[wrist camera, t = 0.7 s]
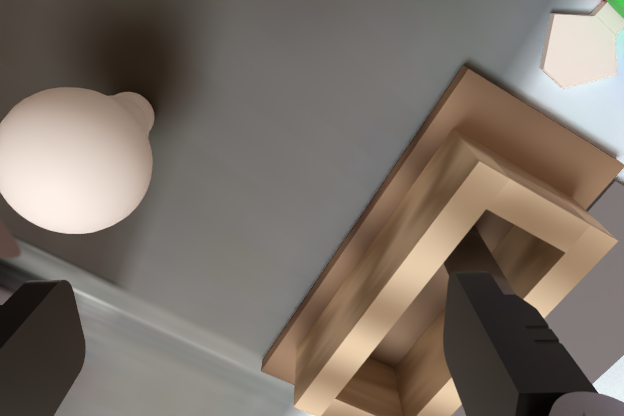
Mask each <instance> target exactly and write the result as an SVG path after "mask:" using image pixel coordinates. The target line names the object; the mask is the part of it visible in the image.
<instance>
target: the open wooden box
mask: <svg viewBox="0 0 624 416" xmlns="http://www.w3.org/2000/svg"><path fill="white" fill-rule="evenodd" d="M486 209H487V210H489V211H491V212H493V213H495V214H496V215H498V216H500V217H502V218H504V219H505V220H507V221H509V222H511V223H513V224H515V225H514V226H513V227H512V229H511V230H510V231H509V232H508V233H507V235H506V236H505V237H504V238H503V239H502V241H501V242H500V243H499V244H498V245H497V246H496V248H495V249H494V250H493V251H492V252H491V254H492V255H493V257H494V259H495V260H496V262H497V264H498V266H499V267H500V269H501V271H502V272H503V274H504V276H505V277H506V279H507V281H508V282H509V284H510V286H511V287H512V289H513V291H514V292H515V294H516V295H517V296H519V297H520V298H522V299H523V300H525V301H526V302H528V303H529V304H531V305H532V306H533V307H535V308H536V309H537V310H538V311H539V313H540V314H541V316H542V317H543V318H545V317H546V316H547V315H548V314H549V313H550V312H551V311H552V310H553V309H554V308H555V307H556V306H557V305H558V304H559V302H560V301H561V300H562V299H563V298H564V297H565V296H566V295H567V294H568V293H569V292H570V291H571V290H572V289H573V288H574V287H575V286H576V285H577V284H578V283H579V282H580V281H581V280H582V278H583V277H584V276H585V275H586V274H587V273H588V272H589V271H590V270H591V269H592V268H593V267H594V266H595V265H596V264H597V263H598V262H599V261H600V260H601V259H602V258H603V257H604V256H605V254H606V253H607V252H608V251H609V250H610V249H611V248H612V247H613V246H614V245H615V244H616V243H617V242H618V240H617V239H616V238H615V237H614V236H613V235H612V234H611V233H609V232H608V231H607V230H606V229H605V228H604V227H603V226H602V225H601V224H600V223H599V222H598V221H597V220H596V219H595V218H593V217H592V216H591V215H590V214H589V213H588V212H587V211H586V210H585V209H584V208H583V207H582V206H581V205H580V204H579V203H577V202H576V201H575V200H574V199H573V198H572V197H570V196H568V195H567V194H565V193H563V192H562V191H560V190H558V189H556V188H555V187H553V186H551V185H549V184H548V183H546V182H544V181H543V180H541V179H539V178H537V177H536V176H534V175H532V174H531V173H529V172H527V171H525V170H524V169H522V168H520V167H519V166H517V165H515V164H513V163H512V162H510V161H508V160H507V159H505V158H503V157H501V156H500V155H498V154H496V153H495V152H493V151H491V150H489V149H488V148H486V147H484V146H482V145H481V144H479V143H477V142H476V141H474V140H472V139H470V138H469V137H467V136H465V135H464V134H462V133H460V132H458V131H457V130H455V129H452V130H451V132H450V133H449V135H448V136H447V137H446V139H445V140H444V142H443V143H442V144H441V146H440V147H439V149H438V150H437V151H436V153H435V154H434V156H433V157H432V159H431V160H430V161H429V163H428V164H427V166H426V167H425V168H424V170H423V171H422V173H421V174H420V175H419V177H418V178H417V180H416V181H415V182H414V184H413V185H412V187H411V188H410V190H409V191H408V192H407V194H406V195H405V197H404V198H403V199H402V201H401V202H400V204H399V205H398V206H397V208H396V209H395V211H394V212H393V214H392V215H391V216H390V218H389V219H388V221H387V222H386V223H385V225H384V226H383V228H382V229H381V230H380V232H379V233H378V235H377V236H376V237H375V239H374V240H373V242H372V243H371V245H370V246H369V247H368V249H367V250H366V252H365V253H364V254H363V256H362V257H361V259H360V260H359V261H358V263H357V264H356V266H355V267H354V269H353V270H352V271H351V273H350V274H349V276H348V277H347V278H346V280H345V281H344V283H343V284H342V285H341V287H340V288H339V290H338V291H337V292H336V294H335V295H334V297H333V298H332V300H331V301H330V302H329V304H328V305H327V307H326V308H325V309H324V311H323V312H322V314H321V315H320V316H319V318H318V319H317V321H316V322H315V324H314V325H313V326H312V328H311V329H310V331H309V332H308V333H307V335H306V336H305V338H304V339H303V340H302V342H301V343H300V345H299V346H298V347H297V349H296V368H295V389H294V407H295V408H297V409H300V410H302V411H305V412H307V413H310V414H312V415H315V416H451V415H452V414H453V413H454V412H455V411H456V410H457V409H458V408H459V407H460V406H461V405H462V403H461V401H460V398H459V395H458V393H457V390H456V387H455V385H454V382H453V379H452V377H451V374H450V371H449V369H448V366H447V363H446V360H445V355H444V347H443V330H444V319H445V308H446V307H445V308H444V310H443V311H442V312H441V313H440V314H439V316H438V317H437V318H436V319H435V320H434V322H433V323H432V324H431V325H430V326H429V327H428V329H427V330H426V331H425V332H424V333H423V335H422V336H421V337H420V338H419V339H418V341H417V342H416V343H415V344H414V345H413V347H412V348H411V349H410V350H409V351H408V353H407V354H406V355H405V356H404V357H403V358H402V360H401V361H400V362H399V363H398V364H397V366H396V367H395V368H394V369H393V368H391V367H389V366H387V365H384V364H382V363H380V362H378V361H375V360H373V359H371V358H369V355H370V354H371V353H372V352H373V350H374V349H375V348H376V347H377V345H378V344H379V343H380V342H381V340H382V339H383V338H384V336H385V335H386V334H387V333H388V331H389V330H390V329H391V328H392V326H393V325H394V324H395V323H396V321H397V320H398V319H399V318H400V316H401V315H402V314H403V313H404V311H405V310H406V309H407V308H408V306H409V305H410V304H411V303H412V301H413V300H414V299H415V298H416V296H417V295H418V294H419V293H420V291H421V290H422V289H423V288H424V286H425V285H426V284H427V283H428V281H429V280H430V279H431V278H432V276H433V275H434V274H435V273H436V271H437V270H438V269H439V268H440V266H441V265H442V264H443V263H444V261H445V260H446V259H447V258H448V256H449V255H450V254H451V253H452V251H453V250H454V249H455V248H456V246H457V245H458V244H459V243H460V241H461V240H462V239H463V238H464V236H465V235H466V234H467V233H468V231H469V230H470V229H471V228H472V226H473V225H474V224H475V222H476V221H477V220H478V219H479V217H480V216H481V215H482V214H483V212H484V211H485V210H486Z"/></svg>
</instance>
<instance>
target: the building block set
mask: <svg viewBox="0 0 624 416" xmlns="http://www.w3.org/2000/svg"><path fill="white" fill-rule="evenodd" d="M561 14H563V13H550V17H549V22H548V27H547V32H546V37H545V42H544V47H543V52H542V57H541V62H540V67H539V68H540V69H541V70H542V71H543V72H544V73H546V74H547V75H548V76H549V77H550V78H551V79H552V80H553V81H554V82H555V83H556V84H557V85H559V86H560V87H562V88H563V89H565V88H569V87H573V86H577V85H581V84H584V83H588V82H592V81H596V80H600V79H604V78H608V77H612V76H616V75H617V58H616V36H617V35H618V34H619V33H620V32H621V31H622V30H623V29H624V0H604V1H602V2H601V3H600V4H599V5H598V6H597V7H596V8H595V9H594V10H593V12H592V13H591V14H590V15H589V14H565V15H561ZM582 15H589V16H582Z"/></svg>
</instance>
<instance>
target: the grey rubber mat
mask: <svg viewBox="0 0 624 416" xmlns="http://www.w3.org/2000/svg"><path fill="white" fill-rule="evenodd" d="M586 211H587V212H588V213H589V214H590V215H591V216H592V217H593V218H595V219H596V220H597V221H598V222H599V223H600V224H601V225H602V226H603V227H604V228H605V229H606V230H607V231H608V232H609V233H611V234H612V235H613V236H614V237H615V238H616V239H617V240H618V242H617V243H616V244H615V245H614V246H613V247H612V248H611V249H610V250H609V251H608V252H607V253H606V254H605V256H604V257H603V258H602V259H601V260H600V261H599V262H598V263H597V264H596V265H595V266H594V267H593V268H592V269H591V270H590V271H589V272H588V273H587V274H586V275H585V276H584V277H583V278H582V280H581V281H580V282H579V283H578V284H577V285H576V286H575V287H574V288H573V289H572V290H571V291H570V292H569V293H568V294H567V295H566V296H565V297H564V298H563V299H562V300H561V301H560V302H559V304H558V305H557V306H556V307H555V308H554V309H553V310H552V311H551V312H550V313H549V314H548V315H547V316H546V317H545V318H544V320H545V321H546V322H547V324H548V325H549V329H552V331H553V332H554V333H555V335H556V336H557V337H558V339H559V343H562V344H563V346H564V347H565V348H566V350H567V351H568V352H569V354H570V355H571V357H572V358H573V359H574V361H575V362H576V363H577V365H578V366H579V367H580V369H581V370H582V372H583V373H584V374H585V376H586V377H587V378H588V380H589V381H590V382H591V384H593V383H594V382H595V381H596V380H597V379H598V378H599V377H600V376H601V375H602V374H604V373H605V372H606V371H607V370H608V369H609V368H610V367H611V366H612V365H613V364H614V363H616V362H617V361H618V360H619V359H620V358H621V357H622V356H623V355H624V185H622V184H621V183H619V182H618V181H616V180H614V179H613V180H612V181H611V182H610V183H609V184H608V186H607V187H606V188H605V189H604V190H603V191H602V192H601V193H600V194H599V196H598V197H597V198H596V199H595V200H594V201H593V202H592V203H591V204H590V206H589V207H588V208H587V209H586ZM451 416H466V414H465V411H464V409H463V406H462V405H461V406H460V407H459V408H458V409H457V410H456V411H455V412H454V413H453V414H452V415H451Z"/></svg>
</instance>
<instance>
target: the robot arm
mask: <svg viewBox="0 0 624 416" xmlns="http://www.w3.org/2000/svg"><path fill="white" fill-rule="evenodd" d="M443 347H444V355H445V360H446V363H447V366H448V369H449V371H450V374H451V377H452V379H453V382H454V385H455V387H456V390H457V393H458V395H459V398H460V401H461V403H462V406H463V409H464V411H465V414H466V416H624V403H623V402H622V401H619V400H617V399H615V398H612V397H609V396H606V395H603V394H599V393H598V392H597V391H596V389H595V388H594V387H593V385H592V384H591V382H590V381H589V380H588V378H587V377H586V376H585V374H584V373H583V372H582V370H581V369H580V367H579V366H578V365H577V363H576V362H575V361H574V359H573V358H572V357H571V355H570V354H569V352H568V351H567V350H566V348H565V347H564V346H563V344H562V343H559V339H558V337H557V336H556V335H555V333H554V332H553V331H552V329H549V325H548V324H547V322H546V321H545V320H544V318H543V317H542V316H541V314H540V313H539V311H538V310H537V309H536V308H535V307H533V306H532V305H531V304H529V303H528V302H526V301H525V300H523V299H522V298H520V297H519V296H517V295H516V294H510V295H504V294H503V292H502V291H501V289H500V288H499V286H498V285H497V283H496V282H495V280H494V278H493V277H492V275H491V274H490V273H489V272H487V271H479V272H452V273H451V274H450V276H449V279H448V287H447V298H446V308H445V319H444V330H443ZM84 359H85V339H84V335H83V330H82V326H81V322H80V318H79V313H78V309H77V305H76V301H75V296H74V292H73V289H72V286H71V285H70V283H69V282H68V281H66V280H42V281H27V282H25V283H24V284H23V285H22V286H21V287H20V288H19V289H18V290H17V291H16V292H15V293H14V294H13V295H12V296H11V297H10V298H9V299H8V300H7V301H6V302H5V303H4V304H3V305H0V416H54V414H55V412H56V411H57V409H58V407H59V406H60V404H61V402H62V401H63V399H64V398H65V396H66V394H67V393H68V391H69V389H70V388H71V386H72V384H73V383H74V381H75V379H76V378H77V376H78V374H79V373H80V371H81V369H82V366H83V363H84Z"/></svg>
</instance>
